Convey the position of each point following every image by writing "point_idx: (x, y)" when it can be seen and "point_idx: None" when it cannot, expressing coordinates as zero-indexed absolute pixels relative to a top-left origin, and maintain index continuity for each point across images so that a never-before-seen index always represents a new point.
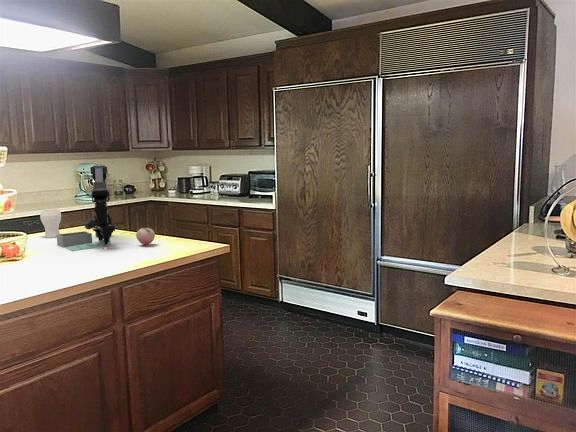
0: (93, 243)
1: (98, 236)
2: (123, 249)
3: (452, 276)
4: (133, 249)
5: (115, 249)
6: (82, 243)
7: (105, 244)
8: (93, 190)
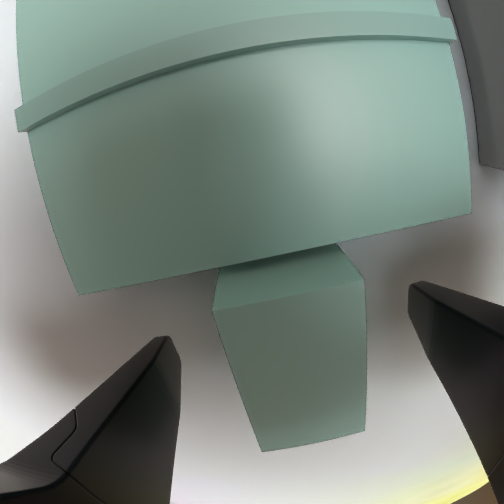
0: (404, 160)
1: (489, 335)
2: (21, 409)
3: None
4: (22, 442)
5: (23, 368)
6: (484, 8)
7: (155, 344)
8: None
